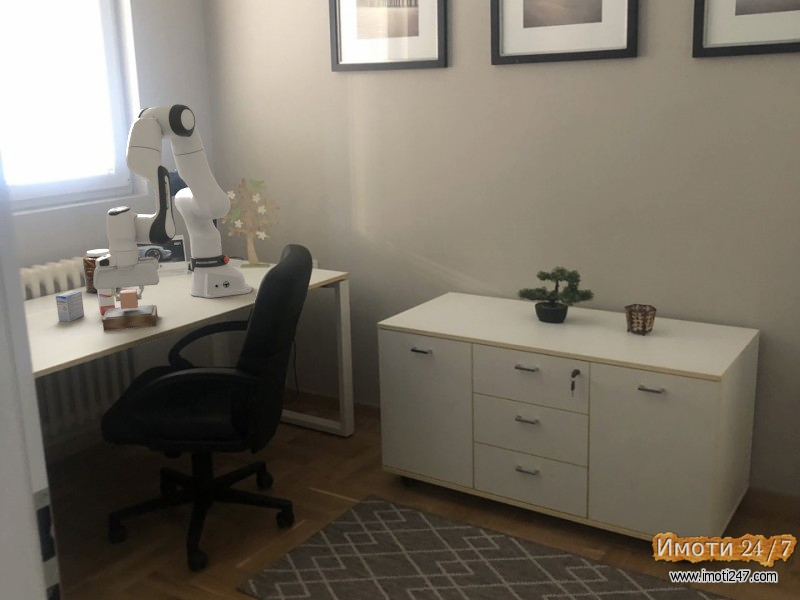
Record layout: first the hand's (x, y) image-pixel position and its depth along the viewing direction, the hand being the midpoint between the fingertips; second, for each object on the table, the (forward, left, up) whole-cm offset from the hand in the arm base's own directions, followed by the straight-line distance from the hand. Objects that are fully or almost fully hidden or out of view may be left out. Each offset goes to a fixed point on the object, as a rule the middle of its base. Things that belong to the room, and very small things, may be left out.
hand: (129, 300), depth 274 cm
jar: (+14, -56, -8) cm, 58 cm away
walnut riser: (0, 0, -8) cm, 8 cm away
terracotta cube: (0, 0, -2) cm, 2 cm away
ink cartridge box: (+9, -19, -8) cm, 22 cm away
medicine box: (+20, -13, -8) cm, 25 cm away
